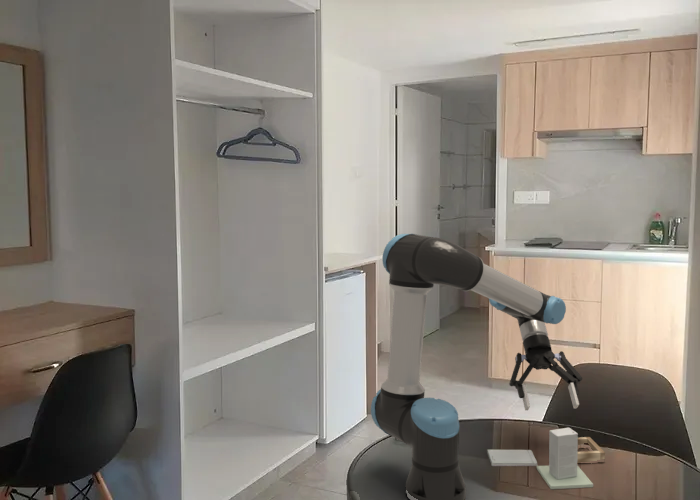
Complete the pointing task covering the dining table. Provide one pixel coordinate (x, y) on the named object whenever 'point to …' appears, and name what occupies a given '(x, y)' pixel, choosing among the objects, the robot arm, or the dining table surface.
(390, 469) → the dining table surface
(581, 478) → the pad
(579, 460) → the cradle
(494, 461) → the hard drive
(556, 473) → the skincare box
